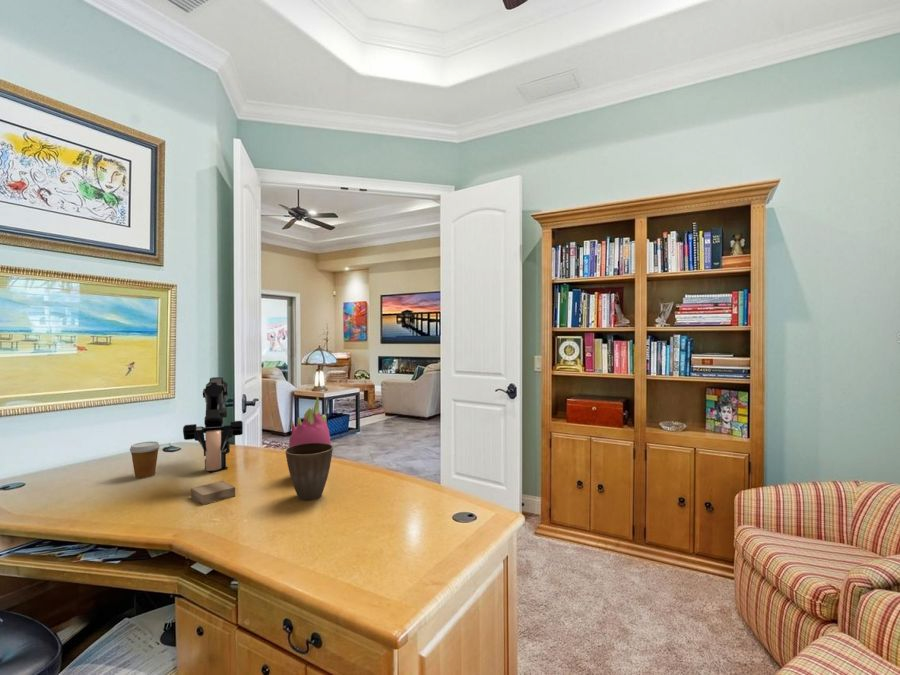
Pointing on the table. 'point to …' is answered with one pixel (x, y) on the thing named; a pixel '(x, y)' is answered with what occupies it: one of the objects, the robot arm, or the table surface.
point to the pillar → (213, 450)
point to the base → (212, 492)
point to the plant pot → (309, 468)
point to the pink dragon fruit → (310, 428)
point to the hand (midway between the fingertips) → (213, 450)
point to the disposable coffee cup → (144, 458)
